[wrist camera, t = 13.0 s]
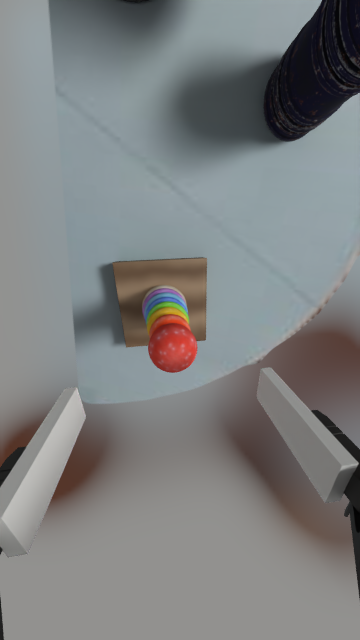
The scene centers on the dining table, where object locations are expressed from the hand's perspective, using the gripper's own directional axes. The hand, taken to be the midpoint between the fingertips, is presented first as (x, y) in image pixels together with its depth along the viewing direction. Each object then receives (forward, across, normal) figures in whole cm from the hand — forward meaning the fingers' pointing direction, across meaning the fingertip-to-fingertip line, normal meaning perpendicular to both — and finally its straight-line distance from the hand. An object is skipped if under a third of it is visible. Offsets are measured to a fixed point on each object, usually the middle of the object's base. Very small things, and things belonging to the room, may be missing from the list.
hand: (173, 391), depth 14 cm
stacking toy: (+23, 0, 0) cm, 23 cm away
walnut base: (+26, 0, 0) cm, 26 cm away
